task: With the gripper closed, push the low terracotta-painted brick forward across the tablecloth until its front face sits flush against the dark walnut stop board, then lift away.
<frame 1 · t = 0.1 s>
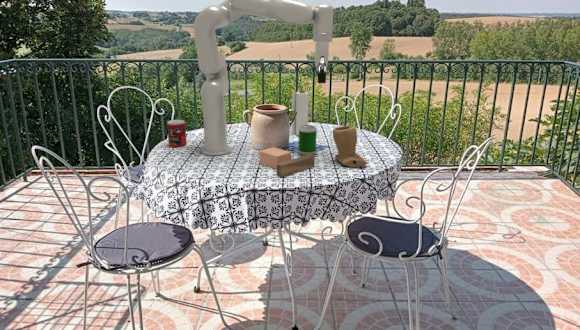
hand: (321, 81, 182), 31 cm above the table, tool pointing down, fingers open, 9 cm apart
canned food: (177, 145, 204), on the table
board: (296, 170, 171), on the table
brick: (275, 164, 178), on the table
tan boot-shaped piece: (347, 163, 181), on the table
paper towel roll: (300, 135, 223), on the table
soda can: (307, 154, 192), on the table
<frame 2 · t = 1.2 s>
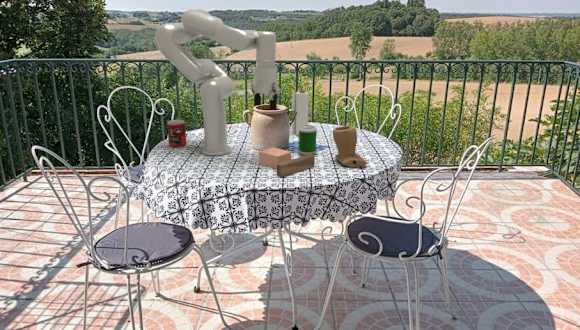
hand: (265, 107, 180), 21 cm above the table, tool pointing down, fingers open, 9 cm apart
nothing on the table moved.
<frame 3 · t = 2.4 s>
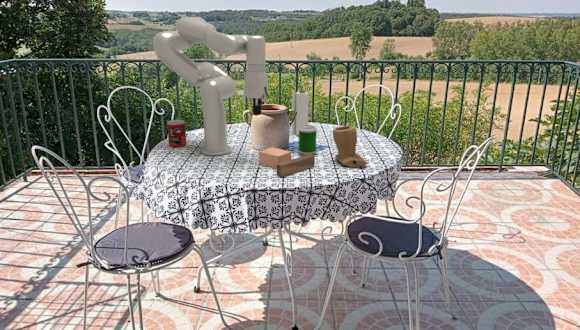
hand: (257, 114, 179), 19 cm above the table, tool pointing down, fingers closed
nothing on the table moved.
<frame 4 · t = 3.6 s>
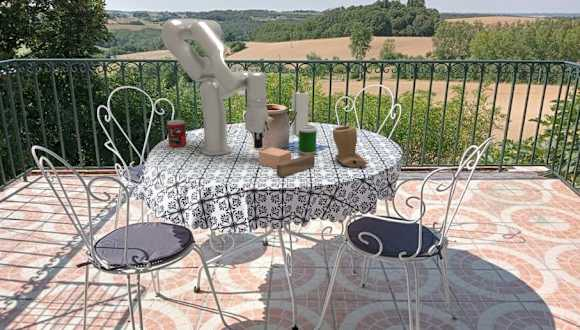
hand: (258, 147, 183), 5 cm above the table, tool pointing down, fingers closed
nothing on the table moved.
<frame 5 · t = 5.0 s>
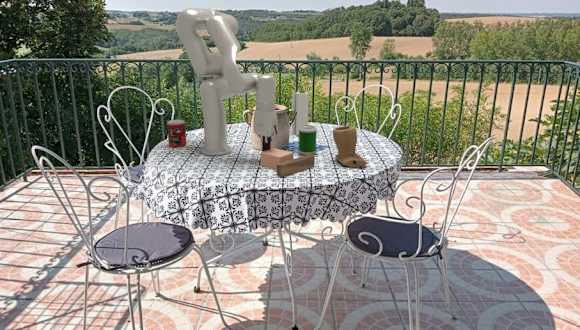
hand: (266, 151, 180), 4 cm above the table, tool pointing down, fingers closed
brick: (277, 165, 177), on the table, touching gripper
everything else where it was.
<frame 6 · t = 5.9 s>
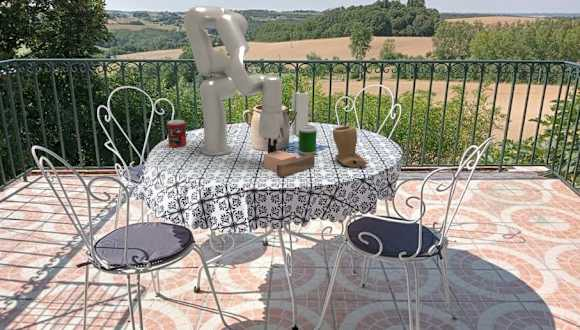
hand: (271, 153, 178), 4 cm above the table, tool pointing down, fingers closed
brick: (280, 168, 174), on the table, touching gripper
everything else where it was.
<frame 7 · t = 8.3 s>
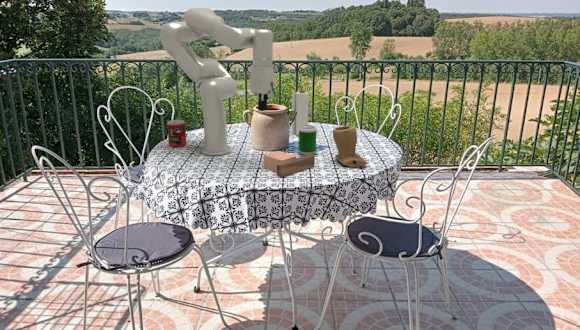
hand: (262, 110, 176), 21 cm above the table, tool pointing down, fingers closed
brick: (280, 168, 174), on the table
everything else where it was.
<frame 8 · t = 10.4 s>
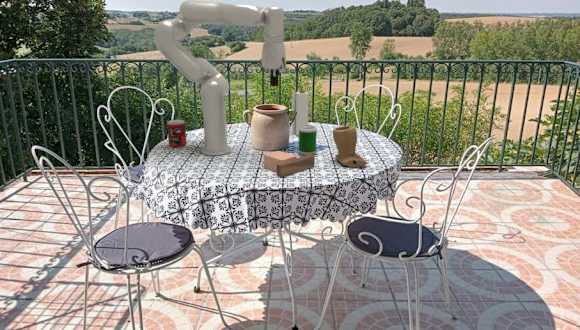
hand: (274, 85, 183), 29 cm above the table, tool pointing down, fingers closed
nothing on the table moved.
at the end: brick inside the target area on the table beside the board (2.1 cm from its centre), on the table; brick tilted 0° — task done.
